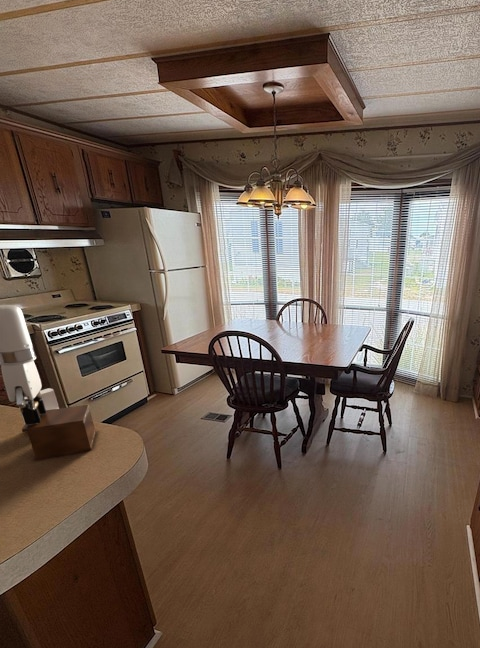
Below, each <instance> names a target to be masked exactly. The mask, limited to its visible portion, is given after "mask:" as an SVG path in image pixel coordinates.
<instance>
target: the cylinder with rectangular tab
mask: <svg viewBox="0 0 480 648" xmlns="http://www.w3.org/2000/svg"><path fill="white" fill-rule="evenodd" d="M40 394H41V396H42V400H43V403H44V406H45V409H46V410H53V409H60V407H59V403H58V400H57V396H56V393H55V390H54V389H53V388H51V387H49V388H44V389H41V390H40ZM24 399H28V398H27V397H24ZM16 401H17V399H16ZM28 402H29V401H27V402H25V403H26V404H27V403H28ZM20 414H21V417H22V420H23V423H24V424H25V421H24V418H23V415H22V412H21V411H20Z"/></svg>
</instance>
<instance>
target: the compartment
mask: <svg viewBox="0 0 480 648" xmlns="http://www.w3.org/2000/svg"><path fill="white" fill-rule="evenodd" d="M94 424H95V423H94V420H93V417H92V413H91V408H90V407H89V409H88V412H87V415H86V418H85V421H84V423H79V424H72V425H66V426H59V427H52V428H46V429H39V430H33V431H26V435H27V436H28V439H29V442H30V445H31V449H32V451H33V454H34V457H35V460H36V461H37V460H42V459H43V460H44V459H48V458H54V457H59V456H65V455H70V454H75V453H82V452H87V451H88V452H89V451H92V448H93V444H94V440H95V436H96V433H97V431H96V428H95V425H94Z"/></svg>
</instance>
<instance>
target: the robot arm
mask: <svg viewBox="0 0 480 648" xmlns="http://www.w3.org/2000/svg"><path fill="white" fill-rule="evenodd" d="M36 359H37V355H36V353H35V350H34V345H33V343H32V339H31V336H30V333H29V329H28V327H27V323H26V320H25V316H24V313H23V310H22V309H21V308H20V307H19V306H17V305H14V304H0V369H1V375H2V380H3V385H4V387H5V392H6V394H7V397H8V401H9V402H10V403H15V402H16V407H18V408H19V411H20V413H21V412H22V414H21V416H22V415H23V417H22V419H23V418H24V420H23V422H24V421H25V423H24V425H25V424H27V425H28V424H35V423H40V422H41V419H40V416H39V413H38V410H37V409H35V405H34V401H37V402H39V405H38V409H39V412H40V414H45V413H46V409H45V406H44V403H43V400H42V396H41V394H40V391H41V390H42V387H43V386H42V380H41V377H40V374H39V371H38V369H37V365H36V364H35V360H36ZM24 397H27V398H28V399H24ZM16 399H17V400H16ZM27 401H29V402H28V403H27V404H26V403H25V402H27Z"/></svg>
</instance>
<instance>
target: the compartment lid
mask: <svg viewBox="0 0 480 648" xmlns="http://www.w3.org/2000/svg"><path fill="white" fill-rule="evenodd" d="M34 405H35V409H37V410H38V413H39V416H40V419H41V422H40V423H35V424H28V425H27V424H25V423H24V426H23V427H22V428H21V431H22V433H24V432H25V433H27V431H33V430H39V429H46V428H52V427H59V426H66V425H72V424H79V423H84V421H85V418H86V415H87V412H88V409H89V408H90V404H83V405H76V406H75V405H74V406H68V407H61V408H60V407H59V409H53V410H46V413H45V414H40V412H39V409H38V405H39V402H37V401H34Z"/></svg>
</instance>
